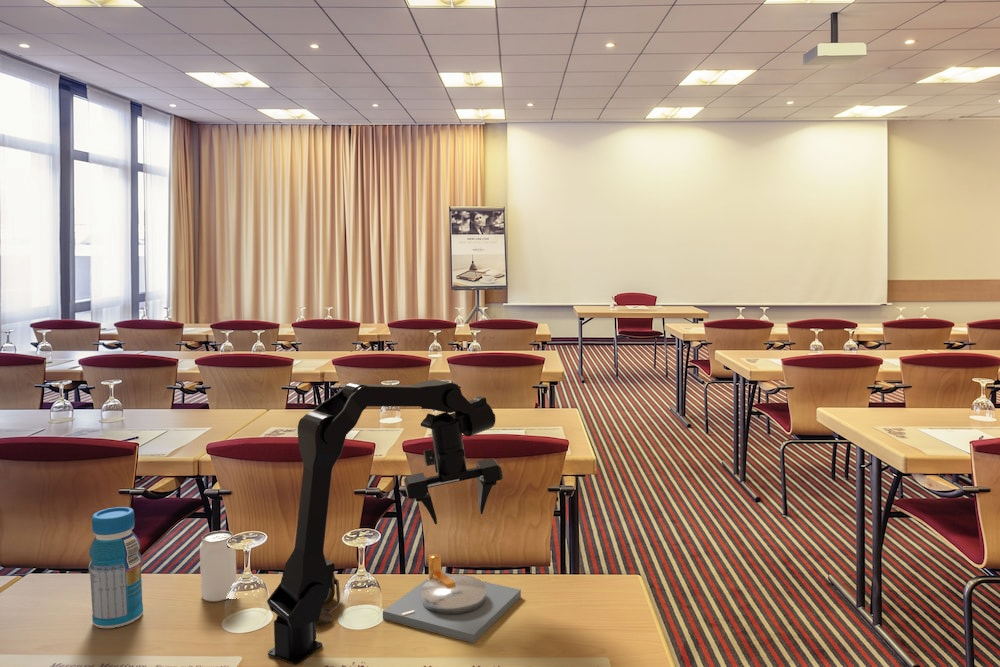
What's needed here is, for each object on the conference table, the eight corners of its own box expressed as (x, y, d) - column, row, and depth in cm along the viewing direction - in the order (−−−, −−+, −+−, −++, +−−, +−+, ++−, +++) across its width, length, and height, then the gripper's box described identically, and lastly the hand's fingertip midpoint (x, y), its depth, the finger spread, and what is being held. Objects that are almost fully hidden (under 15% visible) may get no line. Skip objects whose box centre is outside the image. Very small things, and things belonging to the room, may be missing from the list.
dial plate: (473, 643, 119) (473, 633, 119) (382, 618, 127) (382, 609, 127) (520, 597, 136) (520, 588, 136) (437, 578, 144) (437, 570, 144)
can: (201, 591, 138) (198, 532, 137) (235, 585, 141) (233, 527, 140) (202, 605, 133) (199, 544, 132) (238, 598, 135) (236, 538, 134)
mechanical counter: (356, 568, 136) (307, 556, 137) (335, 592, 124) (282, 578, 124) (348, 604, 136) (299, 591, 137) (326, 631, 124) (273, 617, 125)
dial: (497, 602, 130) (497, 573, 129) (441, 620, 123) (440, 589, 123) (458, 574, 142) (458, 547, 141) (404, 589, 135) (404, 561, 135)
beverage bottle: (96, 635, 122) (90, 524, 120) (87, 617, 128) (82, 511, 126) (149, 620, 127) (144, 513, 125) (138, 603, 133) (133, 501, 132)
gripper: (485, 423, 145) (494, 493, 148) (396, 440, 141) (406, 512, 144) (498, 439, 134) (507, 514, 137) (402, 458, 130) (414, 535, 133)
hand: (458, 518), depth 138 cm, fingers open, 9 cm apart
